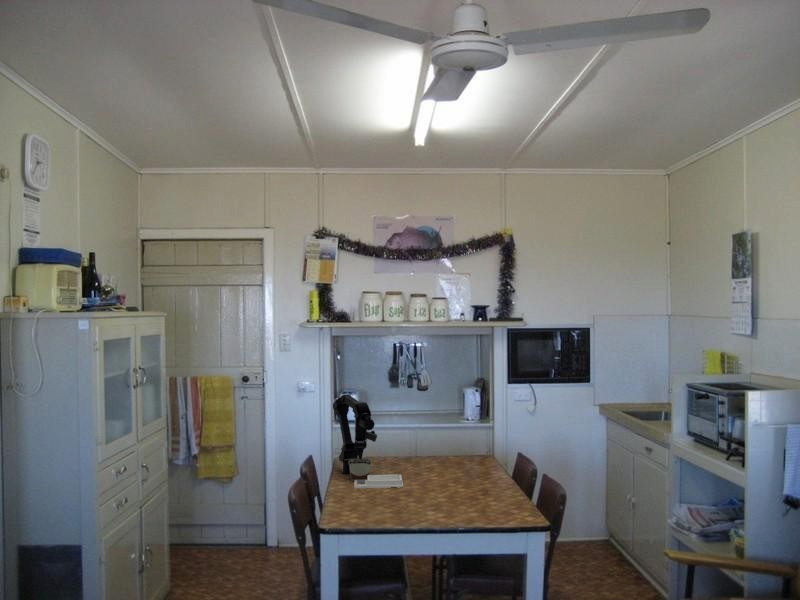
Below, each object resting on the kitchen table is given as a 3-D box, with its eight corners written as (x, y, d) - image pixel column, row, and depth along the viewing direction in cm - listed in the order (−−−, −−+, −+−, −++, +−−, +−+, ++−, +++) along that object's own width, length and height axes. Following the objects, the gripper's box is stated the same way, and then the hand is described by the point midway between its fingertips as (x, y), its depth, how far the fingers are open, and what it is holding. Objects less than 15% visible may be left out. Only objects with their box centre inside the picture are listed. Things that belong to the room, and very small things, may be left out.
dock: (354, 481, 326) (354, 475, 326) (402, 481, 327) (402, 474, 327) (354, 488, 314) (354, 481, 314) (403, 487, 315) (403, 480, 315)
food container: (373, 477, 334) (373, 458, 335) (371, 480, 328) (371, 460, 329) (350, 477, 336) (350, 457, 336) (347, 480, 330) (347, 460, 330)
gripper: (376, 430, 324) (376, 461, 323) (376, 423, 342) (376, 453, 342) (354, 430, 323) (354, 461, 323) (355, 423, 342) (355, 453, 341)
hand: (360, 457), depth 332 cm, fingers open, 9 cm apart
